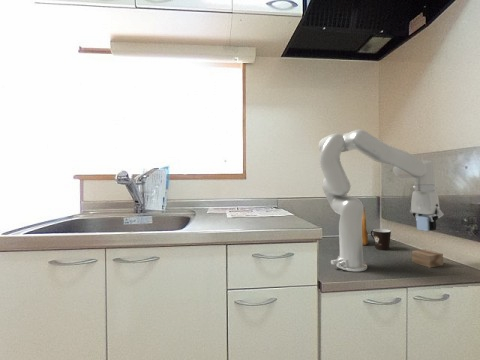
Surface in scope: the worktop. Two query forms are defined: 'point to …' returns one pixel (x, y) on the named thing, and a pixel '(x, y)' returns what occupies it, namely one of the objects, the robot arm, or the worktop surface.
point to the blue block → (423, 222)
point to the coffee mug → (381, 238)
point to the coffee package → (364, 230)
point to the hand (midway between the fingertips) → (426, 228)
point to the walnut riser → (427, 258)
